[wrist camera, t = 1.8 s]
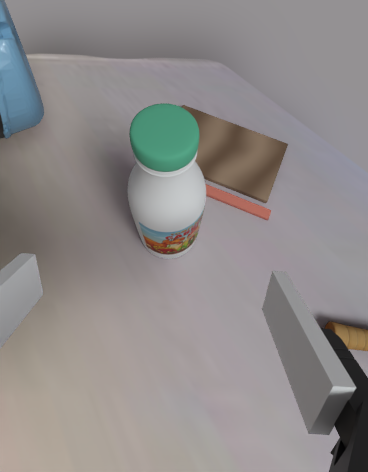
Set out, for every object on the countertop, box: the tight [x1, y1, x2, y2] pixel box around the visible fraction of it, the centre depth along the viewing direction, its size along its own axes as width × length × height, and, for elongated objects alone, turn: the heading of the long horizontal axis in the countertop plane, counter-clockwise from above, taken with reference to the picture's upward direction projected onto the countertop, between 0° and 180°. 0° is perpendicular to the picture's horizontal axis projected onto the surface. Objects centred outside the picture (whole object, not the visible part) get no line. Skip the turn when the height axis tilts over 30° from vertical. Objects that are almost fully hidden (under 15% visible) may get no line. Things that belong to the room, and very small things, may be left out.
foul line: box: [206, 184, 271, 220], centre depth 37 cm, size 20×2×1 cm, turn 66°
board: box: [182, 105, 288, 203], centre depth 40 cm, size 18×11×1 cm, turn 66°
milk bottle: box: [127, 104, 206, 259], centre depth 26 cm, size 8×8×20 cm
